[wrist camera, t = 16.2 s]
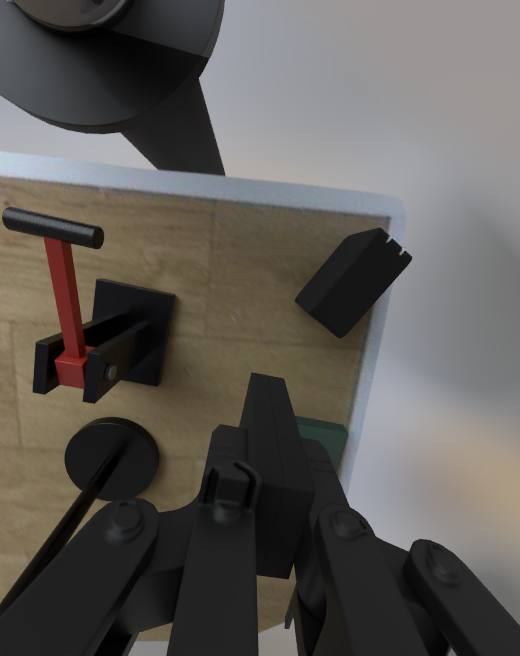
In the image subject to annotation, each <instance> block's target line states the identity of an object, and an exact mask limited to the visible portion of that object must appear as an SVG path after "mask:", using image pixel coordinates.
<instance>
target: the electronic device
mask: <svg viewBox="0 0 520 656" xmlns="http://www.w3.org/2000/svg"><path fill="white" fill-rule="evenodd" d="M392 237H393V235H388V234H387V233H386V232H385V231H384V230H383V229H382V228H376V229H372V230H368V231H364V232H360V233H357V234H353V235H350V236H348V237H347V238H346V239H344V241H343V242H342V243H341V244H340V245H339V246H338V248H337V249H336V250H335V251H334V252H333V254H332V255H331V256H330V257H329V258H328V260H327V261H326V262H325V263H324V264H323V266H322V267H321V268H320V269H319V270H318V272H317V273H316V274H315V275H314V276H313V278H312V279H311V280H310V281H309V282H308V284H307V285H306V286H305V287H304V288H303V290H302V291H301V292H300V293H299V295H298V296H297V297H296V299H295V302H296V303H297V304H298V305H300V306H301V307H302V308H303V309H304V310H305V311H306V312H307V313H308V314H310V315H311V316H312V317H313V318H315V319H316V320H317V321H318V322H319V323H321V324H322V325H323V326H324V327H325V328H327V329H328V330H329V331H330V332H332V333H333V334H334V335H335V336H336V337H338V338H342V337H344V336H345V335H346V334H347V333H348V332H349V331H350V330H351V329H352V328H353V326H354V325H355V324H356V323H357V322H358V321H359V320H360V319H361V317H362V316H363V315H364V314H365V313H366V312H367V311H368V310H369V308H370V307H371V306H372V305H373V304H374V303H375V302H376V301H377V299H378V298H379V297H380V296H381V295H382V294H383V293H384V292H385V290H386V289H387V288H388V287H389V286H390V285H391V284H392V283H393V281H394V280H395V279H396V278H397V277H398V276H399V274H401V272H402V271H403V270H404V269H405V268H406V267H407V266H408V264H409V263H410V262H411V260H412V256H410V255H409V254H408V253H407V252H406V251H405V250H406V248H405V247H401V246H400V245H399V244H398V243H397V242H396V241H395V240H393V239H392Z"/></svg>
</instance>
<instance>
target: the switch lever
mask: <svg viewBox="0 0 520 656" xmlns="http://www.w3.org/2000/svg"><path fill="white" fill-rule="evenodd" d="M2 220H3V223H4V225H5V227H6V228H8V229H9V230H13V231H17V232H22V233H26V234H31V235H35V236H39V237H44V242H45V247H46V252H47V258H48V263H49V268H50V273H51V278H52V284H53V289H54V294H55V299H56V304H57V309H58V315H59V320H60V325H61V330H62V335H63V341H64V346H65V350H64V351H63V352H62V353H61V354H60V355H59V356H58V357H57V358H56V359H55V365H56V369H57V374H58V378H59V383H60V385H65V386H71V387H76V388H82V389H84V384H85V374H86V365H87V355H88V352H89V351H91V350H92V349H94V347H89V346H85V340H84V333H83V326H82V319H81V312H80V305H79V298H78V291H77V284H76V277H75V270H74V263H73V256H72V249H71V244H75V245H80V246H84V247H89V248H93V249H100V248H101V247H102V245H103V242H104V232H103V230H102V228H101V227H98V226H94V225H89V224H85V223H81V222H76V221H72V220H68V219H63V218H59V217H55V216H50V215H46V214H41V213H37V212H33V211H28V210H24V209H20V208H15V207H8V208H6V209H5V210H4V212H3V215H2Z"/></svg>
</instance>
